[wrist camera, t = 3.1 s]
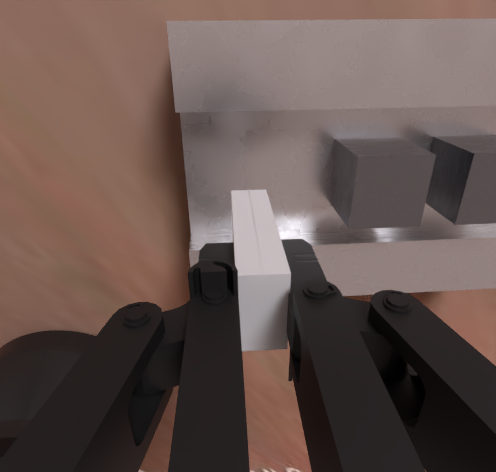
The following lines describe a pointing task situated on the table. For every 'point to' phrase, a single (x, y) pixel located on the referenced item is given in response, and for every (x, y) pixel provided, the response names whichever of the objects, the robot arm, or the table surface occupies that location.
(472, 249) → the slot block
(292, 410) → the table surface
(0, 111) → the table surface
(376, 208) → the dark gray cube
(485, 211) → the dark grey cube
